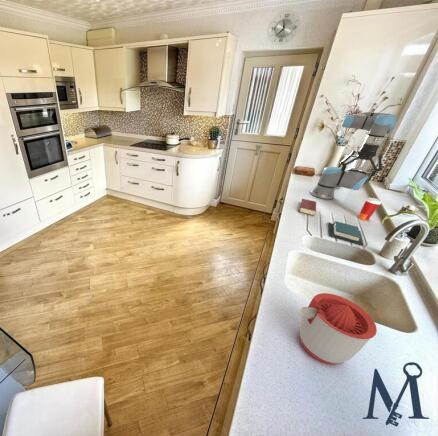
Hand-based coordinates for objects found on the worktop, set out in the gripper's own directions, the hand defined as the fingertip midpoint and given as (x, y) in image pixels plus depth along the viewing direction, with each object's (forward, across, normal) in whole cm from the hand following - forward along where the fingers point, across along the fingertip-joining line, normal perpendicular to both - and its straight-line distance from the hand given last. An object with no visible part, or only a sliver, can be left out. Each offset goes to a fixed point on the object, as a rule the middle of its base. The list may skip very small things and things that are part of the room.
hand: (353, 178), depth 146 cm
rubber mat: (+27, +4, -25) cm, 37 cm away
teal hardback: (+26, +4, -25) cm, 36 cm away
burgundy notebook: (+27, -17, -2) cm, 32 cm away
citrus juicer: (+27, -9, -118) cm, 121 cm away
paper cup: (+27, +16, +7) cm, 32 cm away
